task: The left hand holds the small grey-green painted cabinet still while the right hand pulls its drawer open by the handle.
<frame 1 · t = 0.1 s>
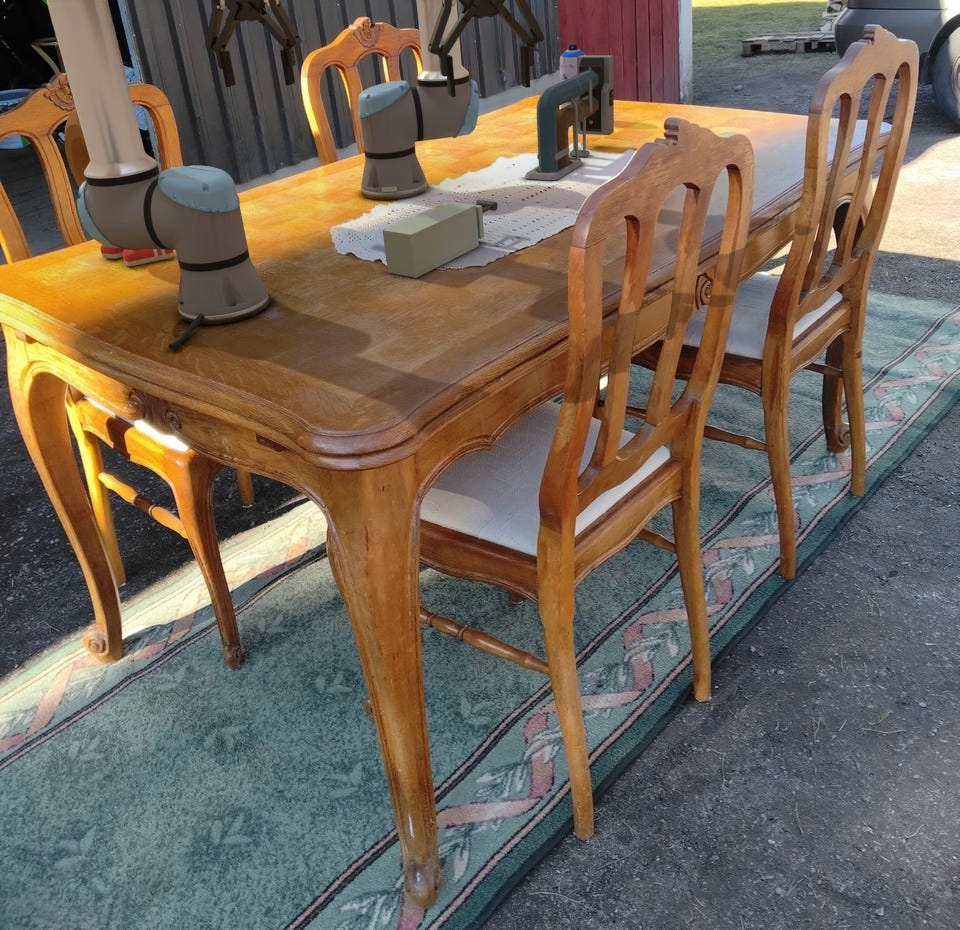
left hand: (260, 85, 196), 28 cm above the table, tool pointing down, fingers open, 13 cm apart
right hand: (489, 91, 171), 28 cm above the table, tool pointing down, fingers open, 13 cm apart
aerosol can: (574, 120, 278), on the table
cabinet: (434, 259, 181), on the table
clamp: (570, 161, 237), on the table
toy: (136, 257, 196), on the table
drawer: (452, 228, 183), point 4 cm above the table, slide at 1.5 cm
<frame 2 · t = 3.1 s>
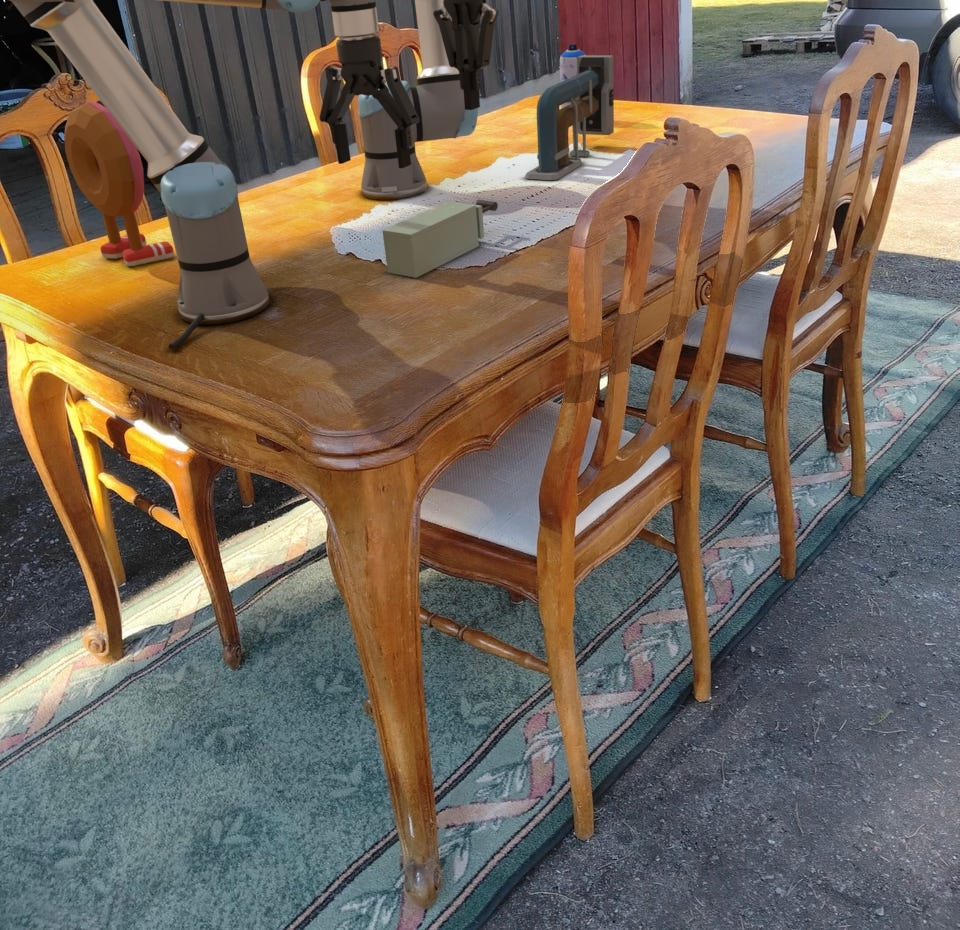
left hand: (374, 164, 174), 18 cm above the table, tool pointing down, fingers open, 13 cm apart
right hand: (472, 108, 179), 24 cm above the table, tool pointing down, fingers closed
nothing on the table moved.
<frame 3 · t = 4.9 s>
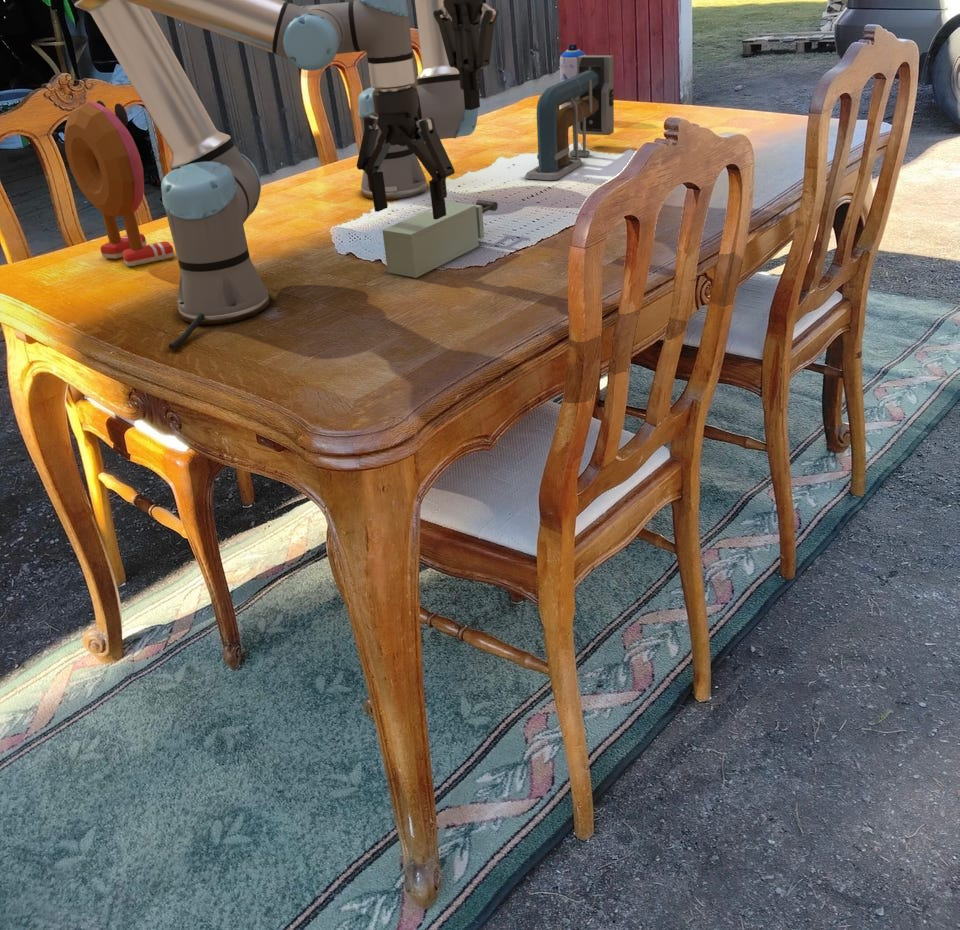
left hand: (410, 213, 172), 10 cm above the table, tool pointing down, fingers open, 13 cm apart
right hand: (472, 108, 179), 24 cm above the table, tool pointing down, fingers closed
nothing on the table moved.
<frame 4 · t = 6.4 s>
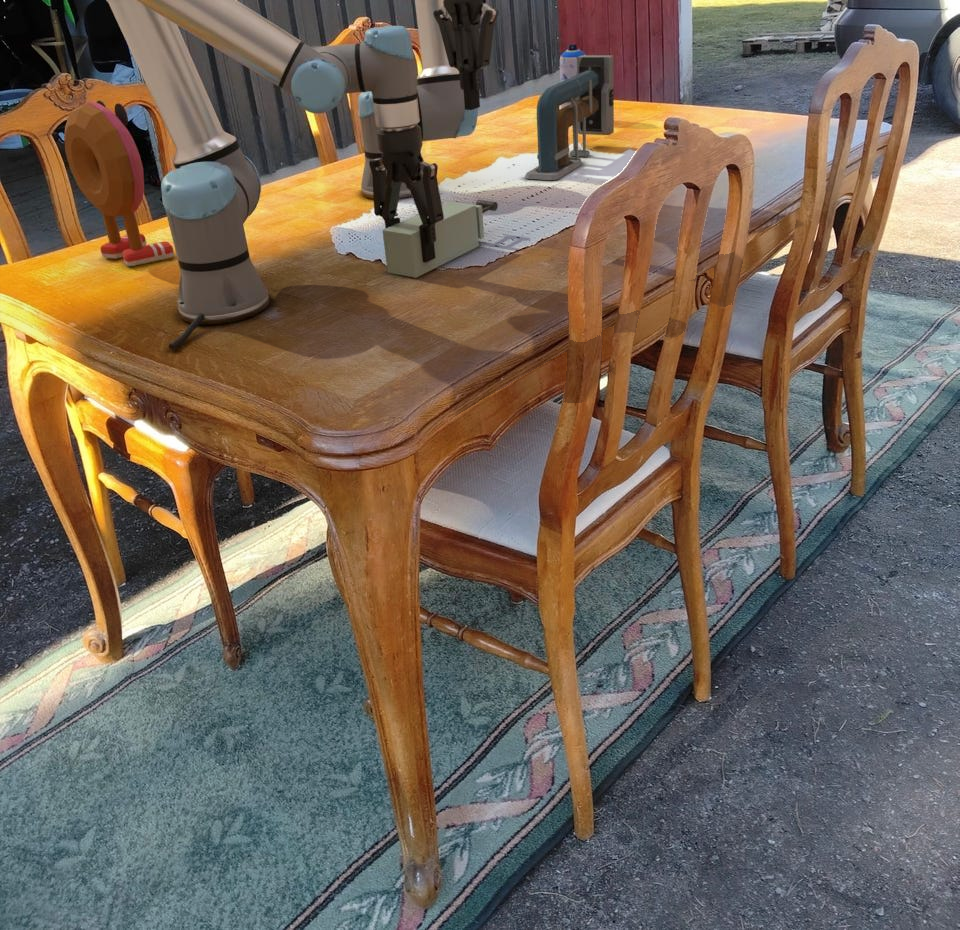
left hand: (413, 257, 176), 2 cm above the table, tool pointing down, fingers closed on cabinet, 7 cm apart
right hand: (472, 108, 179), 24 cm above the table, tool pointing down, fingers closed
cabinet: (434, 259, 181), on the table, touching left hand
everything else where it was.
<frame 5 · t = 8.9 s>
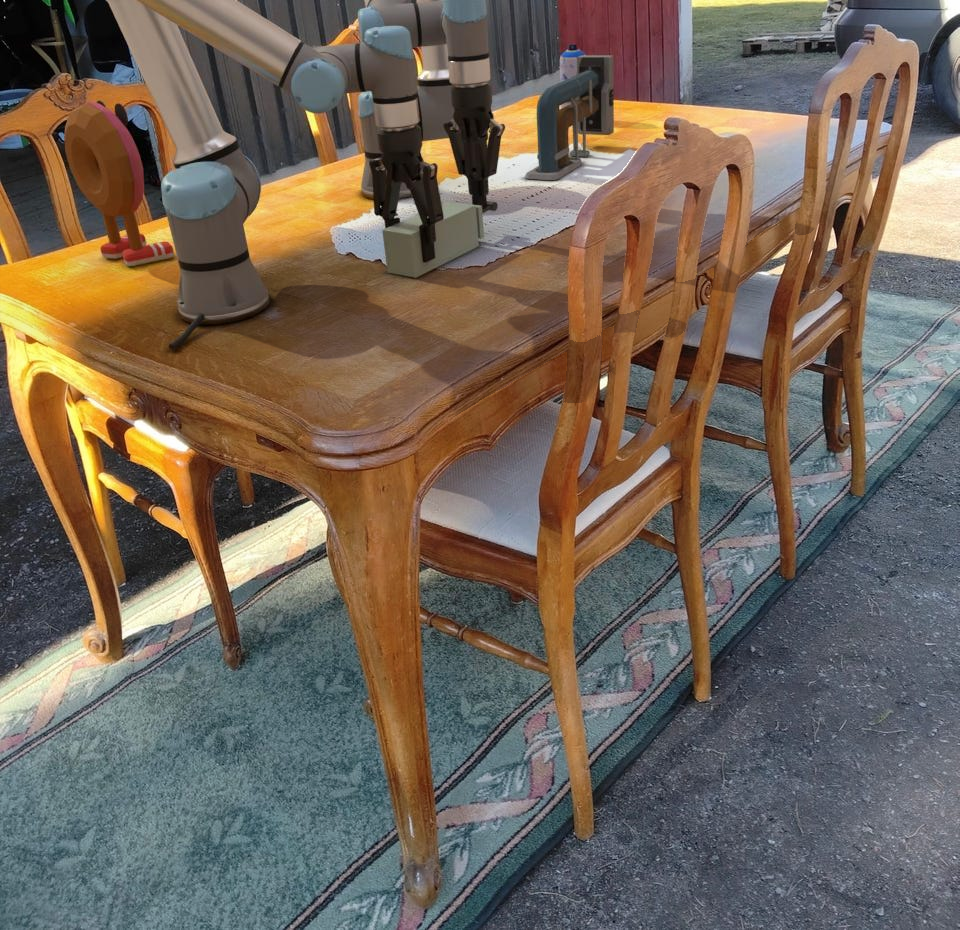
left hand: (413, 257, 176), 2 cm above the table, tool pointing down, fingers closed on cabinet, 7 cm apart
right hand: (480, 211, 188), 5 cm above the table, tool pointing down, fingers closed
cabinet: (434, 259, 181), on the table, touching left hand
drawer: (452, 228, 183), point 4 cm above the table, slide at 1.5 cm, touching right hand
everything else where it was.
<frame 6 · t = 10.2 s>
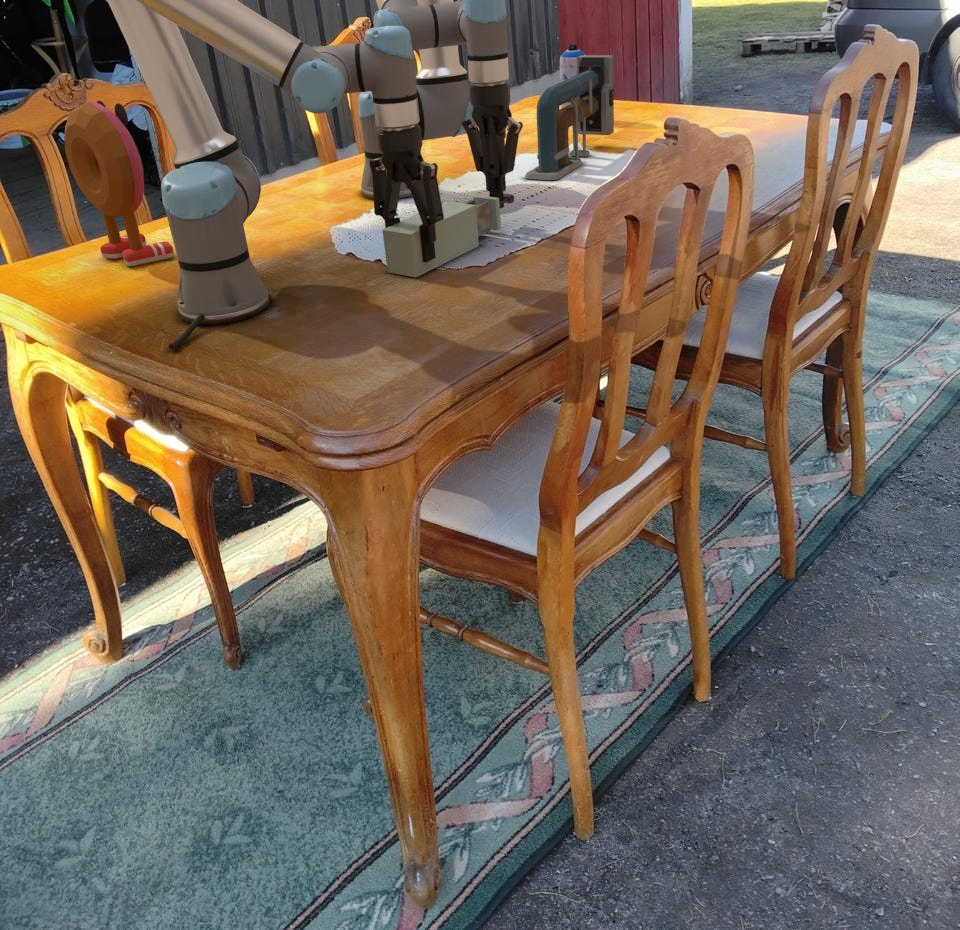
left hand: (413, 256, 176), 2 cm above the table, tool pointing down, fingers closed on cabinet, 7 cm apart
right hand: (497, 208, 193), 4 cm above the table, tool pointing down, fingers closed
cabinet: (434, 258, 181), on the table, touching left hand
drawer: (470, 220, 187), point 4 cm above the table, slide at 7.2 cm, touching right hand
everything else where it was.
when the left hand's fingers open (2 cm above the table, at t = 11.7 s): cabinet stays where it is, on the table.
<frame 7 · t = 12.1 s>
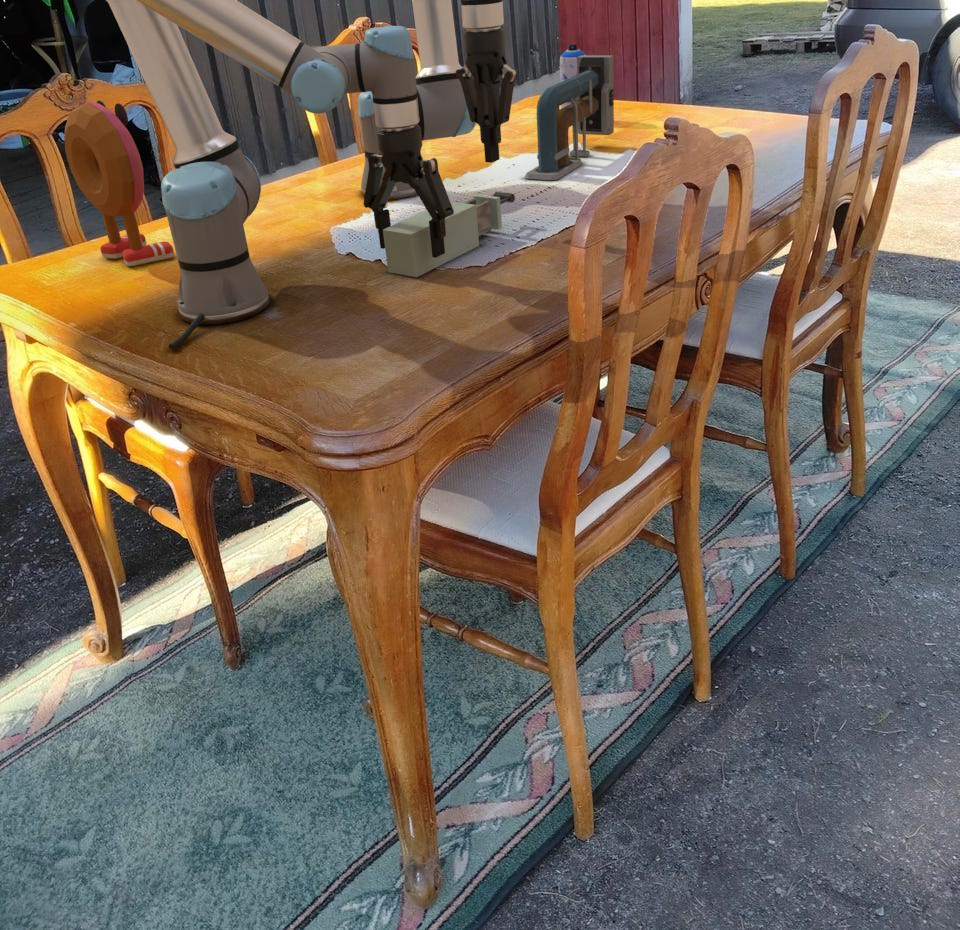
left hand: (412, 250, 175), 3 cm above the table, tool pointing down, fingers open, 11 cm apart
right hand: (492, 160, 188), 13 cm above the table, tool pointing down, fingers closed
cabinet: (434, 258, 181), on the table
drawer: (471, 219, 187), point 4 cm above the table, slide at 7.4 cm
everything else where it was.
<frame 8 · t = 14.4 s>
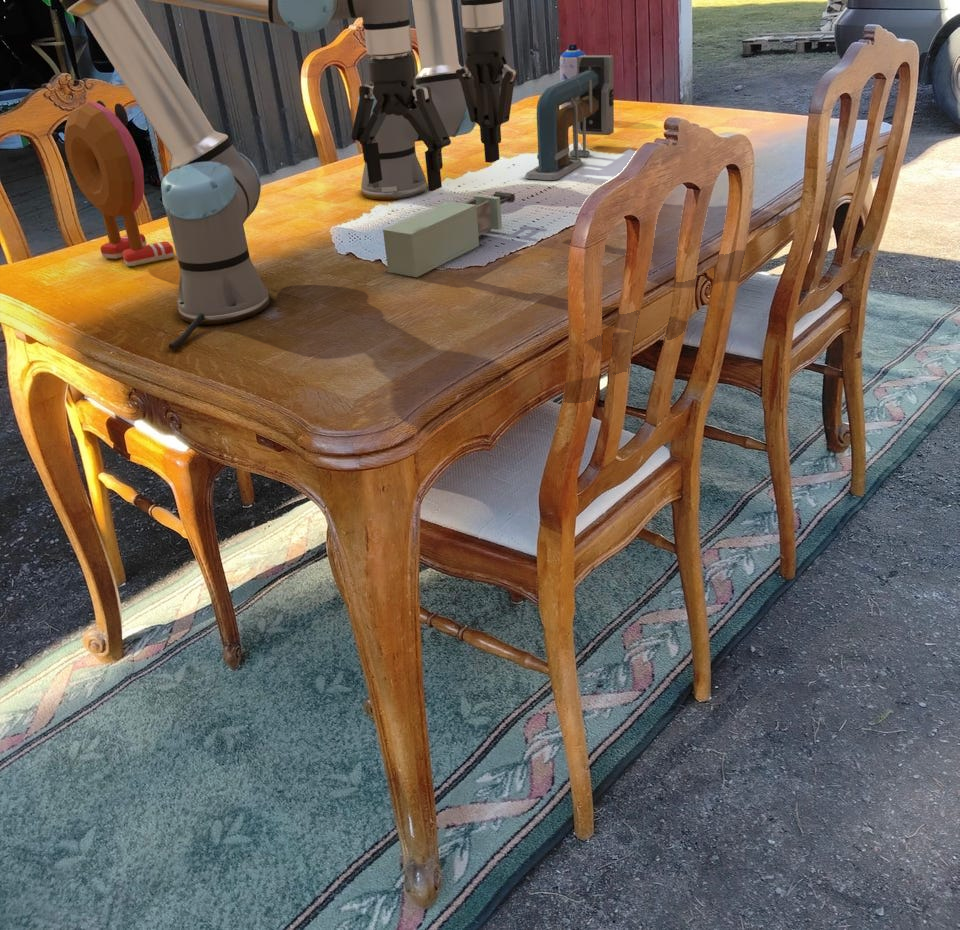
left hand: (404, 185, 169), 15 cm above the table, tool pointing down, fingers open, 13 cm apart
right hand: (492, 160, 188), 13 cm above the table, tool pointing down, fingers closed
nothing on the table moved.
at the end: drawer slide at 7.4 cm; cabinet tilted 0°; cabinet never tilted more than 2° during the clip; cabinet moved 0.2 cm from its start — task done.
